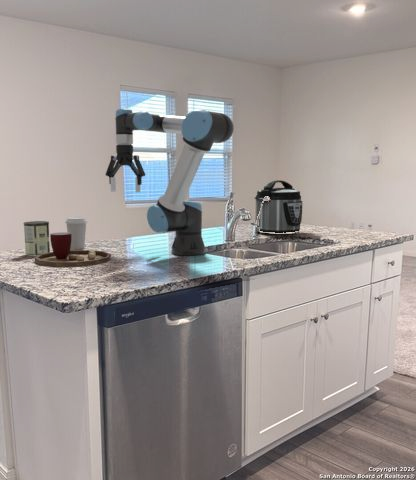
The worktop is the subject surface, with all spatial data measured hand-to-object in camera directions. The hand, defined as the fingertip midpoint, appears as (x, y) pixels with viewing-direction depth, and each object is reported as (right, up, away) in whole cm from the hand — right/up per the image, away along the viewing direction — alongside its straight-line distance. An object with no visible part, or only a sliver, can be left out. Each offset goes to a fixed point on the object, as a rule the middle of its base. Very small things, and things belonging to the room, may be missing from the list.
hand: (125, 191), depth 218 cm
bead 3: (-8, -30, -31) cm, 44 cm away
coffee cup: (-22, -27, 0) cm, 35 cm away
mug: (-22, -29, -27) cm, 45 cm away
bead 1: (-11, -31, -36) cm, 49 cm away
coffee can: (-36, -29, -11) cm, 47 cm away
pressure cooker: (+80, -18, +70) cm, 108 cm away
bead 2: (-9, -29, -26) cm, 40 cm away
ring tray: (-15, -31, -30) cm, 46 cm away
